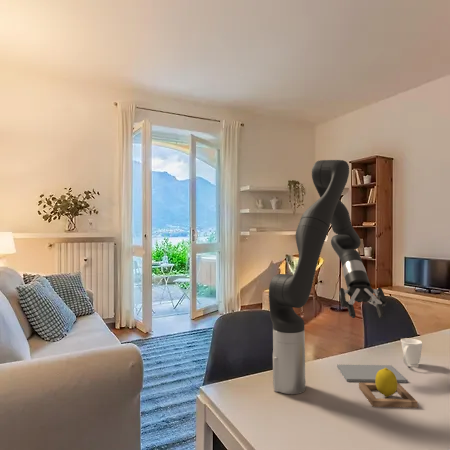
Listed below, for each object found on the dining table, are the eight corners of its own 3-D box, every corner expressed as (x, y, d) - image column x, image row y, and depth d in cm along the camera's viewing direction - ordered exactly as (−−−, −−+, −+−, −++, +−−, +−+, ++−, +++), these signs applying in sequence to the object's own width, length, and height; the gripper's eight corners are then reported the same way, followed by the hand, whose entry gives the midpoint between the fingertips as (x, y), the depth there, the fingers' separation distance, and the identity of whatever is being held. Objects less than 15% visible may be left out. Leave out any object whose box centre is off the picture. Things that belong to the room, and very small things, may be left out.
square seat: (372, 406, 93) (372, 400, 93) (359, 387, 104) (358, 382, 104) (417, 407, 92) (417, 401, 92) (398, 388, 104) (398, 383, 104)
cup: (426, 364, 122) (426, 341, 122) (416, 372, 115) (415, 347, 115) (405, 359, 127) (404, 336, 127) (393, 366, 120) (393, 342, 121)
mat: (346, 381, 109) (346, 379, 109) (337, 366, 121) (337, 364, 121) (407, 382, 108) (407, 379, 108) (391, 367, 120) (391, 365, 120)
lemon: (400, 402, 95) (399, 372, 95) (378, 400, 96) (377, 371, 96) (394, 393, 100) (393, 364, 101) (373, 392, 102) (373, 363, 102)
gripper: (336, 269, 122) (347, 310, 111) (379, 269, 122) (394, 310, 110) (333, 282, 128) (342, 323, 116) (373, 282, 127) (387, 323, 115)
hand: (367, 316), depth 113 cm, fingers open, 8 cm apart
